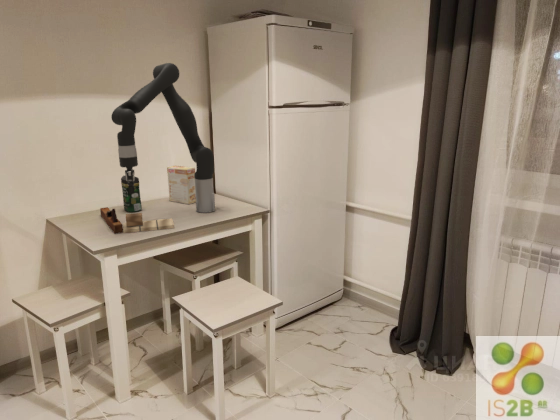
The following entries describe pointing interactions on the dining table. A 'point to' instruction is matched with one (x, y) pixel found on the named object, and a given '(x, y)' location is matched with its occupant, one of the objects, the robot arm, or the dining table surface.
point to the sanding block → (134, 220)
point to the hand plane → (111, 220)
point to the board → (150, 226)
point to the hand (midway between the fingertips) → (131, 191)
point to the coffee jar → (131, 196)
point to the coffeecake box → (181, 184)
